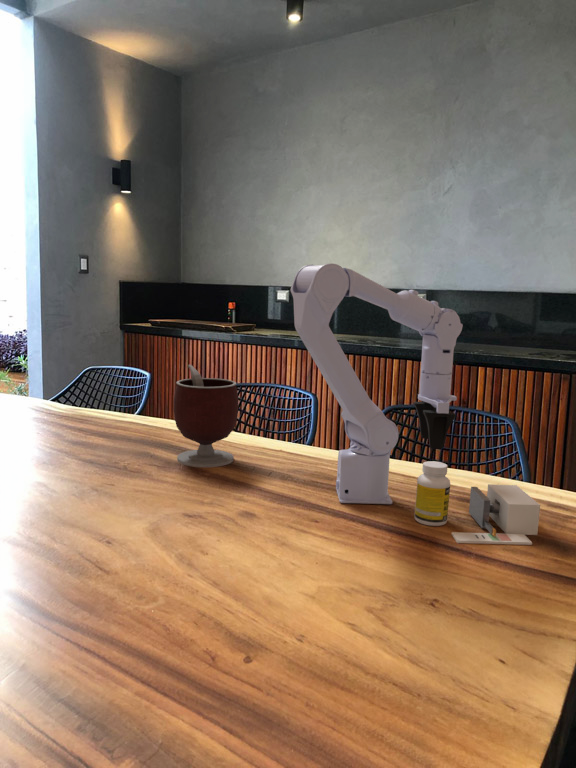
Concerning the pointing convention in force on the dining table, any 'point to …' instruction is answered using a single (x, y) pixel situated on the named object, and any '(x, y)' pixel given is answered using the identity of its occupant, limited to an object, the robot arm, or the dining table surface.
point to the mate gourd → (205, 417)
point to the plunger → (482, 509)
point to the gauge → (508, 517)
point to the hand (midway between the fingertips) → (431, 443)
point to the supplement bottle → (432, 494)
